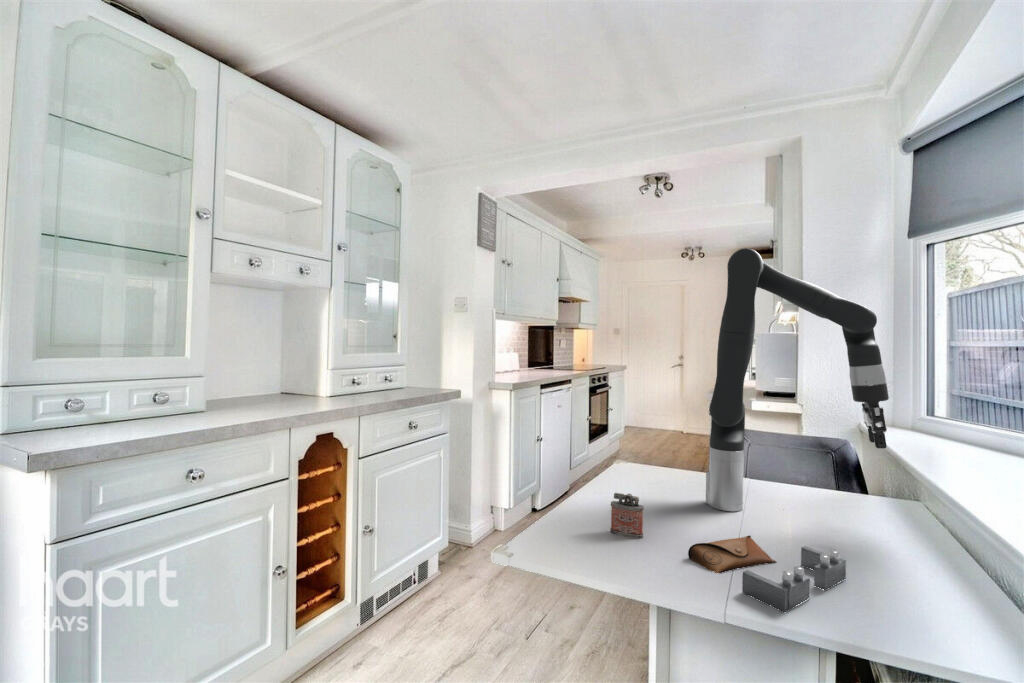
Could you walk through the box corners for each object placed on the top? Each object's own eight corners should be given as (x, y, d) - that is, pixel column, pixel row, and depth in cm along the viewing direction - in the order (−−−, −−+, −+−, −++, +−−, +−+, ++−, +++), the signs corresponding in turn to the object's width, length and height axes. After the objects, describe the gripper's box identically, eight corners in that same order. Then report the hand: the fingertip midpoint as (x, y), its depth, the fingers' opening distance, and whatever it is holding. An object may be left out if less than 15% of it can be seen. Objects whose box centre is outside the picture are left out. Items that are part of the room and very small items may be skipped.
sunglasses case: (716, 575, 99) (704, 540, 102) (694, 579, 105) (684, 546, 108) (779, 562, 106) (766, 530, 109) (756, 566, 111) (744, 536, 114)
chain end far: (783, 574, 100) (783, 545, 100) (804, 564, 105) (804, 536, 105) (825, 591, 93) (825, 560, 93) (845, 579, 98) (846, 550, 98)
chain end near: (742, 592, 92) (742, 561, 92) (767, 581, 97) (767, 551, 97) (784, 612, 85) (785, 579, 86) (809, 599, 90) (809, 567, 90)
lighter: (644, 535, 119) (645, 494, 119) (641, 540, 116) (642, 498, 116) (612, 529, 123) (612, 490, 123) (608, 533, 120) (609, 493, 120)
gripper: (847, 382, 134) (856, 440, 133) (854, 385, 121) (864, 450, 120) (880, 379, 130) (890, 440, 129) (891, 383, 118) (902, 450, 117)
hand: (878, 445), depth 125 cm, fingers open, 8 cm apart
